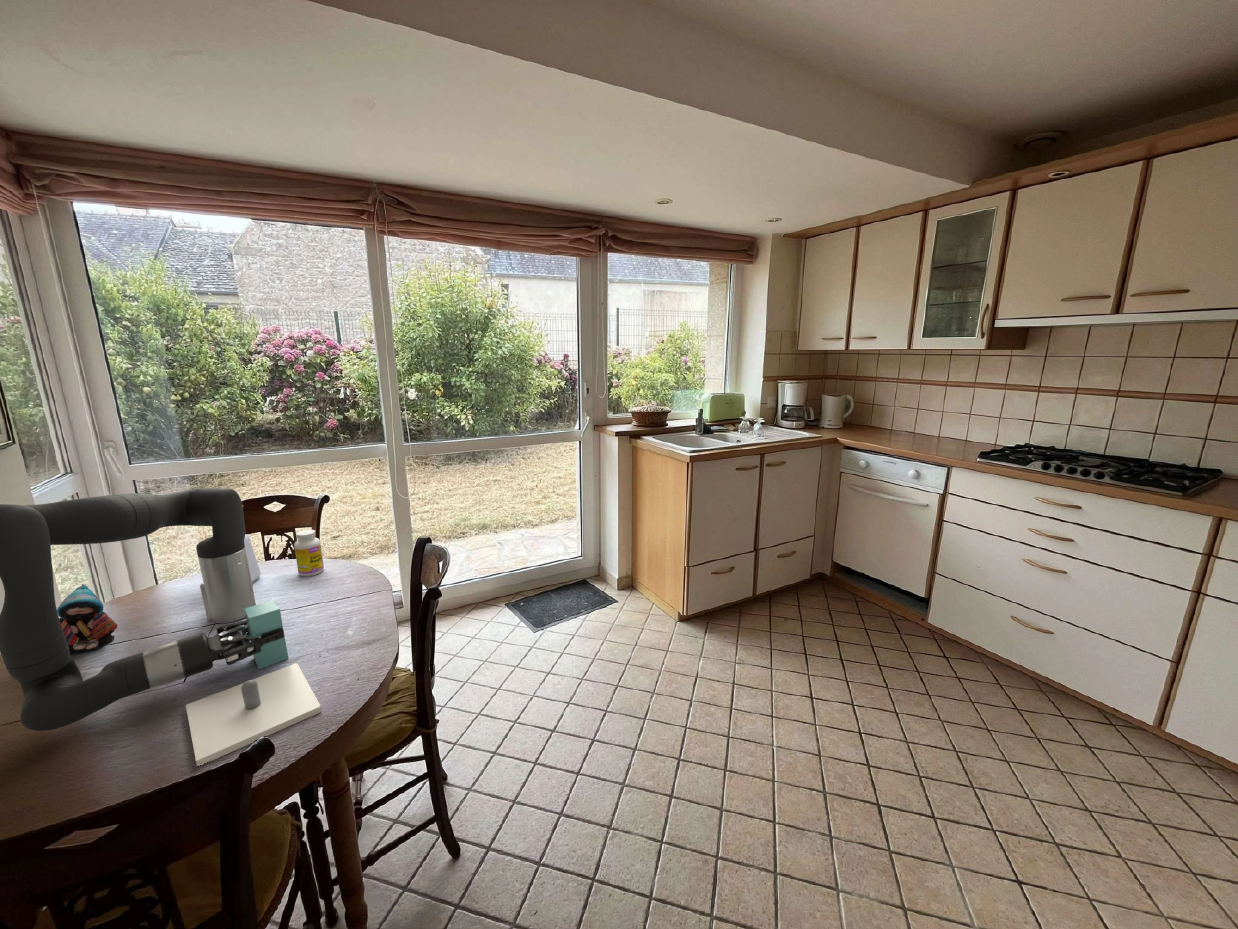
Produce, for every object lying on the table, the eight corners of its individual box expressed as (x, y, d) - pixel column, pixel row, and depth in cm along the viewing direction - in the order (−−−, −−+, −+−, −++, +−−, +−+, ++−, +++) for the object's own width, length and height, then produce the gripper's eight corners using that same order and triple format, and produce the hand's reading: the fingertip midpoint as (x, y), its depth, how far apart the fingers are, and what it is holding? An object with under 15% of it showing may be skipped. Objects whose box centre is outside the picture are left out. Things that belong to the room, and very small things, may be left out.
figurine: (55, 664, 106) (36, 601, 103) (62, 649, 112) (44, 588, 108) (120, 647, 112) (104, 587, 109) (124, 633, 118) (108, 575, 114)
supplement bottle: (312, 578, 146) (306, 537, 143) (293, 576, 147) (286, 535, 144) (329, 568, 152) (323, 529, 149) (311, 566, 153) (305, 527, 150)
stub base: (197, 767, 81) (189, 734, 79) (187, 710, 93) (180, 680, 92) (321, 711, 93) (316, 682, 91) (297, 668, 105) (293, 641, 104)
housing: (258, 669, 105) (248, 618, 102) (253, 658, 109) (244, 608, 106) (288, 658, 109) (279, 608, 106) (282, 647, 112) (274, 599, 110)
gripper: (177, 659, 91) (285, 624, 103) (172, 628, 101) (270, 599, 113) (186, 694, 93) (290, 656, 105) (179, 660, 103) (276, 628, 115)
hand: (279, 626), depth 109 cm, fingers closed on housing, 5 cm apart
